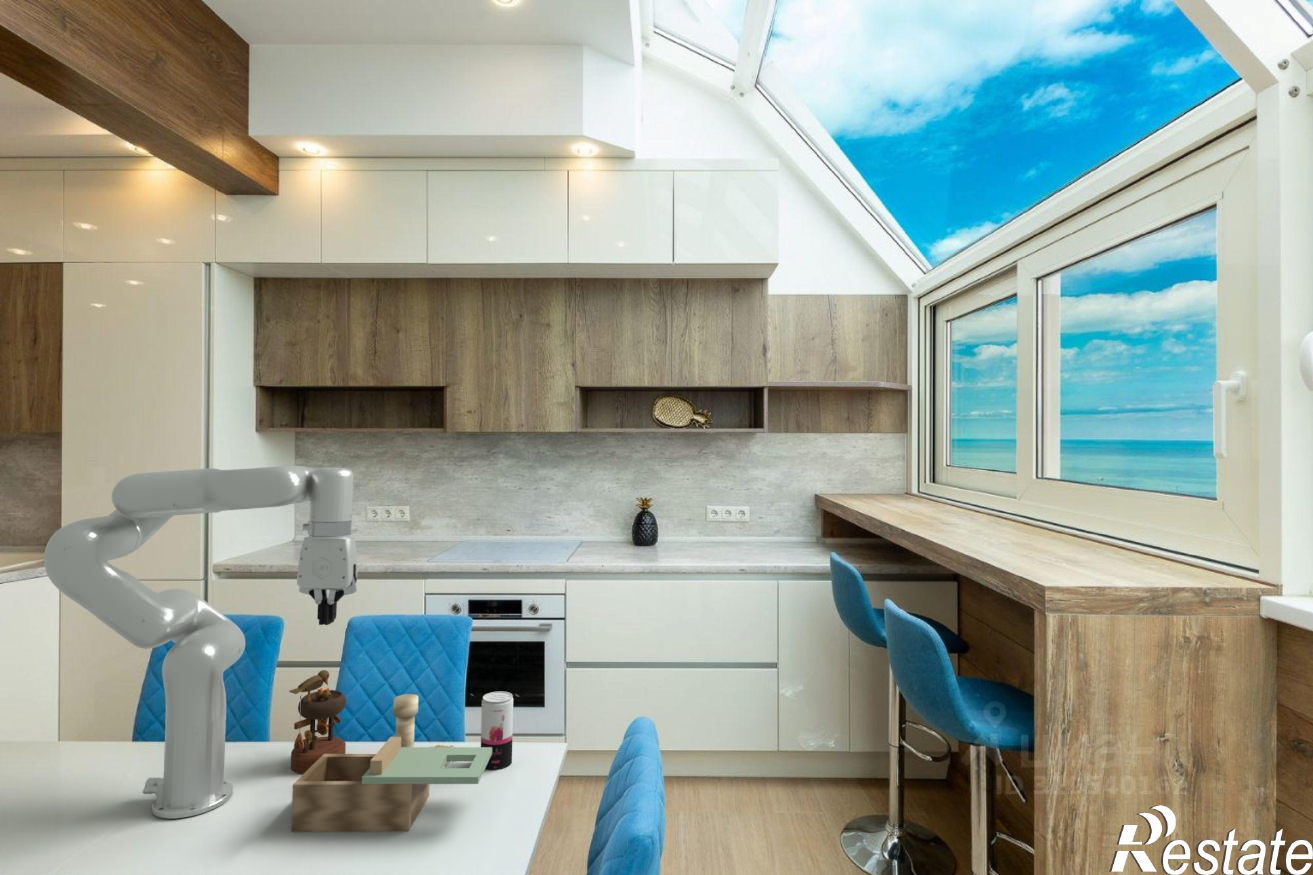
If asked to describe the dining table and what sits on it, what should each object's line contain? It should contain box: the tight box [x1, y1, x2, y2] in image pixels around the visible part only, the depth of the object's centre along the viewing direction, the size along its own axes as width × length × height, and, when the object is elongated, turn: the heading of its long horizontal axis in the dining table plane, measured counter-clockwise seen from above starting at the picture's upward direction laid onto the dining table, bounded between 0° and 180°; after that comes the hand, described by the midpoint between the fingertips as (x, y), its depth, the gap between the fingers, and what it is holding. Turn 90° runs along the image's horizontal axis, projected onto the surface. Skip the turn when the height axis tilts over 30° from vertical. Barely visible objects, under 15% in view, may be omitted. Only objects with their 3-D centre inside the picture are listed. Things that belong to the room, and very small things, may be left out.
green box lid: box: [362, 736, 492, 785], centre depth 123 cm, size 20×12×4 cm, turn 92°
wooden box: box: [290, 753, 430, 833], centre depth 123 cm, size 20×12×9 cm, turn 92°
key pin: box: [392, 693, 419, 747], centre depth 139 cm, size 5×5×16 cm
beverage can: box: [480, 690, 514, 771], centre depth 143 cm, size 6×6×15 cm
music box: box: [288, 669, 347, 775], centre depth 145 cm, size 15×11×20 cm
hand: (326, 623), depth 132 cm, fingers closed
